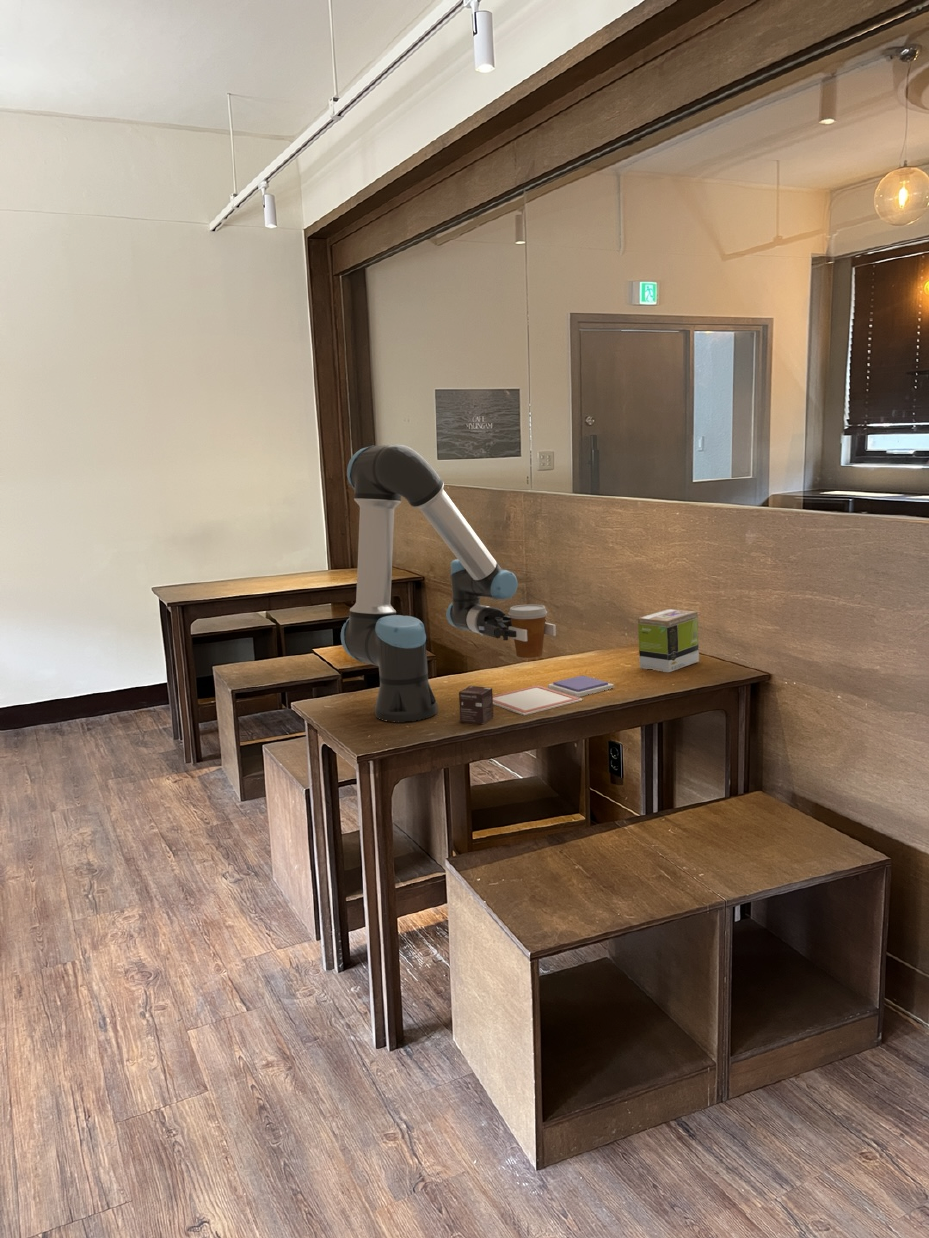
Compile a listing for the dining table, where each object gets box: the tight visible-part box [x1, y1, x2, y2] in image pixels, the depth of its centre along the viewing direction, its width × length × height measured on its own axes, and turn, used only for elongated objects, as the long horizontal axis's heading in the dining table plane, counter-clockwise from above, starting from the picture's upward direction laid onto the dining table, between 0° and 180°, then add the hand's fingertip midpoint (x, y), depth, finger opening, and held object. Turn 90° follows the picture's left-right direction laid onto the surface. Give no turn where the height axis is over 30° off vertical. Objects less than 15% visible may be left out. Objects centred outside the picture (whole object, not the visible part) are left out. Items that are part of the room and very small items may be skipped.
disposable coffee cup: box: [507, 604, 548, 659], centre depth 216 cm, size 10×10×12 cm
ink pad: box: [547, 674, 615, 698], centre depth 228 cm, size 12×12×2 cm
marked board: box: [493, 684, 583, 716], centre depth 220 cm, size 18×18×1 cm
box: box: [458, 685, 494, 725], centre depth 206 cm, size 6×6×7 cm
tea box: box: [637, 608, 700, 673], centre depth 245 cm, size 15×10×15 cm
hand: (540, 633), depth 212 cm, fingers closed on disposable coffee cup, 8 cm apart
